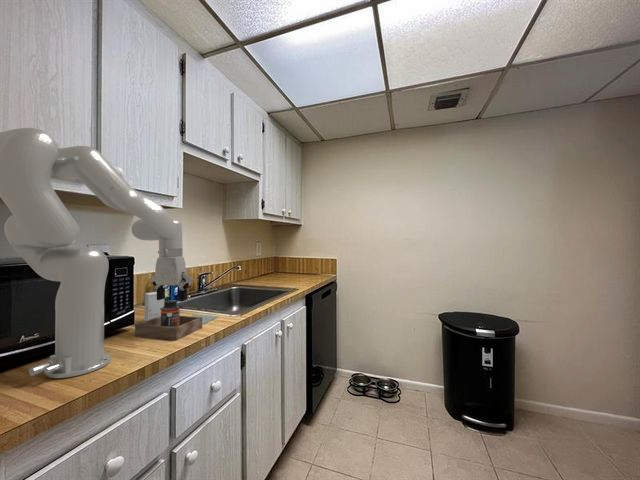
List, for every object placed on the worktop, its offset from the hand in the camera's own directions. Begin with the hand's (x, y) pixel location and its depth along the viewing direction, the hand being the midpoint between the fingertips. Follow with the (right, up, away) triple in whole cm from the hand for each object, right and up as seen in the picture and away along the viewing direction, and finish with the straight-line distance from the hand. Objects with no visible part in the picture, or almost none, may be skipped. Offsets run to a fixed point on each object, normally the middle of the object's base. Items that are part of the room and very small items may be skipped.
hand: (172, 300), depth 97 cm
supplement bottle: (0, -12, -1) cm, 12 cm away
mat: (+3, -12, +13) cm, 18 cm away
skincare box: (-13, -12, +10) cm, 20 cm away
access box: (0, -11, -1) cm, 11 cm away
